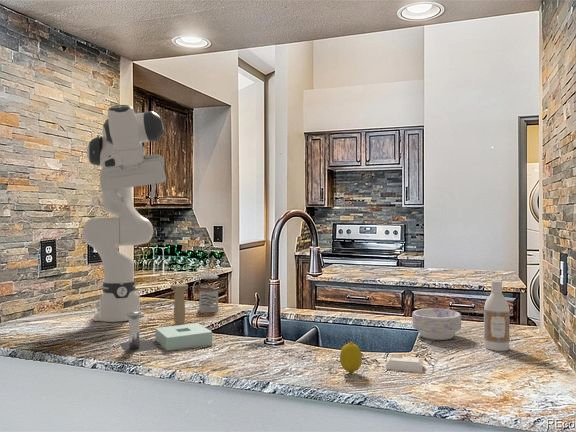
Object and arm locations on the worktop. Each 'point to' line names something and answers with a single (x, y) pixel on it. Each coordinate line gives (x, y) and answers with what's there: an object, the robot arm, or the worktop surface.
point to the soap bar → (404, 363)
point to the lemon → (350, 357)
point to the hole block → (183, 336)
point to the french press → (208, 293)
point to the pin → (134, 329)
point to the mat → (141, 346)
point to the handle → (179, 303)
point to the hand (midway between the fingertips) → (137, 199)
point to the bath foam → (496, 319)
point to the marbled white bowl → (436, 323)
